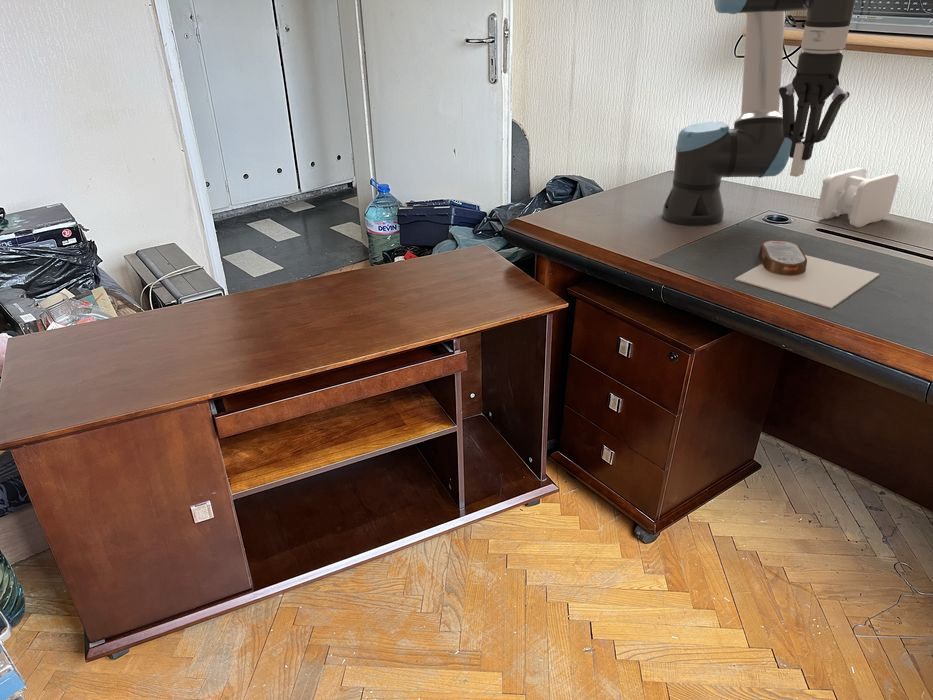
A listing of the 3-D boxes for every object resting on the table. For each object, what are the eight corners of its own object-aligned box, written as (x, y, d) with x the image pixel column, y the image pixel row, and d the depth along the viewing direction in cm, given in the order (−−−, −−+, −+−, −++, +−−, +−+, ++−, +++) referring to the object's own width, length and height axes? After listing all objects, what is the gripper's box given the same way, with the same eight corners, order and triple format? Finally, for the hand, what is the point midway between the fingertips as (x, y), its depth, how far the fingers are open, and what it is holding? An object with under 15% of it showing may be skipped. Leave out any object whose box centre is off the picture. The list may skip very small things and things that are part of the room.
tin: (767, 274, 144) (809, 279, 143) (771, 260, 143) (813, 265, 141) (755, 249, 157) (794, 252, 156) (758, 236, 155) (797, 239, 154)
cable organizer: (851, 231, 165) (863, 183, 160) (812, 220, 173) (822, 174, 168) (889, 219, 171) (901, 173, 166) (849, 208, 180) (860, 164, 174)
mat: (734, 279, 144) (734, 278, 143) (786, 251, 156) (786, 250, 156) (831, 308, 130) (831, 307, 130) (879, 275, 142) (879, 274, 142)
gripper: (778, 50, 130) (757, 172, 142) (848, 55, 122) (819, 185, 134) (797, 45, 134) (775, 164, 147) (866, 50, 126) (836, 176, 138)
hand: (796, 174), depth 140 cm, fingers closed
